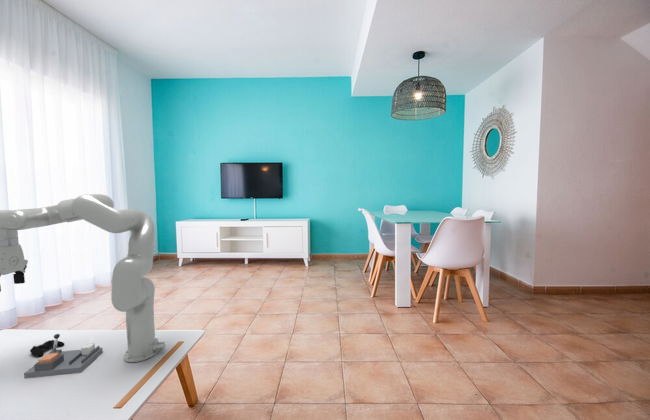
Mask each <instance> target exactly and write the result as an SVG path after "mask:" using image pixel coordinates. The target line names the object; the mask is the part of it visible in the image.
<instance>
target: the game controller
mask: <svg viewBox="0 0 650 420" xmlns="http://www.w3.org/2000/svg"><path fill="white" fill-rule="evenodd" d="M54 340H55V339H51V340H47V341H44V342H43V343H42V344H39V345H33V346H32V348H31V349H30V350H29V352H30V353H31V355H32V356H34V357H35V358H39V359H40V358H42V357H43V356H44V351H47V350H49V349H51V348H52V347H53V346H54ZM64 346H65V343H64V342H63V341H60V340H58V342H57V347H58V348H62V347H64Z"/></svg>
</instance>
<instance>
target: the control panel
mask: <svg viewBox="0 0 650 420" xmlns="http://www.w3.org/2000/svg"><path fill="white" fill-rule="evenodd" d="M103 351H104V350H103V347H100V345H98V346H95V349H94V350H93V351H92V352H90V353H89V354H88V355H82V352H81V349H75V350H62V348H60V349H56V350H55V351H53V349H52V350H51V351H50V352H48V353H47V354H50V353H59V357H58V358H57V359H55V360H54V361H53V362H51V363H41V364H38V361H37V362H36V363H34V365H33V366H32V367H30V368H29V369H28V370H26V371H25V372H24V373H23V378H24V379H33V378H43V377H51V376H52V377H53V376H58V375H59V376H60V375H69V374H70V375H71V374H78V373H79V374H81V373H82V372H83V371H84V370H85V369H86V368H87V367H89V366H90V365H91V363H93V362H94V361H95V360H96V359H97V358H98V357H99V356H100V355H102V353H103Z"/></svg>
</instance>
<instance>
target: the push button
mask: <svg viewBox="0 0 650 420" xmlns="http://www.w3.org/2000/svg"><path fill="white" fill-rule="evenodd" d="M49 353H50V352H49ZM58 357H59V353H50V354H48V353H46V354H44V355H43V356H42V357H40V358H39V359H37V362H38V364H41V363H51V362H53V361H54V360H55V359H57V358H58Z"/></svg>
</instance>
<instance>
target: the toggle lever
mask: <svg viewBox="0 0 650 420" xmlns="http://www.w3.org/2000/svg"><path fill="white" fill-rule="evenodd" d="M60 336H61V335H60V333H56V334H54V335H53V338H54V339H53V340H54V346H52V350H53V351H55V350H57V342H58V341H59V338H60Z"/></svg>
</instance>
